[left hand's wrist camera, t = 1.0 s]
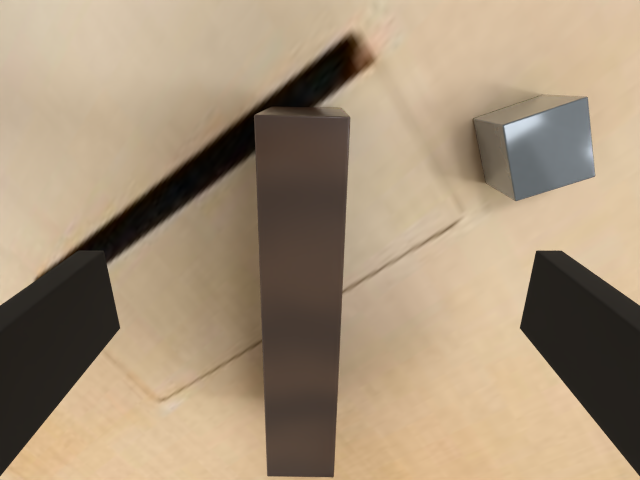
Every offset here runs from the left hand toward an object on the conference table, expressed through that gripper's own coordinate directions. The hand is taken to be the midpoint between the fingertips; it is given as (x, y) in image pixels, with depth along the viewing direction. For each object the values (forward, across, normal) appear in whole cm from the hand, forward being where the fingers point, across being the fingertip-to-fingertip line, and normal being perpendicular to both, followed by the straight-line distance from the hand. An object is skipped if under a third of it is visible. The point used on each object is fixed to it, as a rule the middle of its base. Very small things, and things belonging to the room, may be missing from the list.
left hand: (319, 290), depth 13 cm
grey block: (+19, +14, +2) cm, 24 cm away
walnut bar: (+19, -1, -9) cm, 21 cm away
